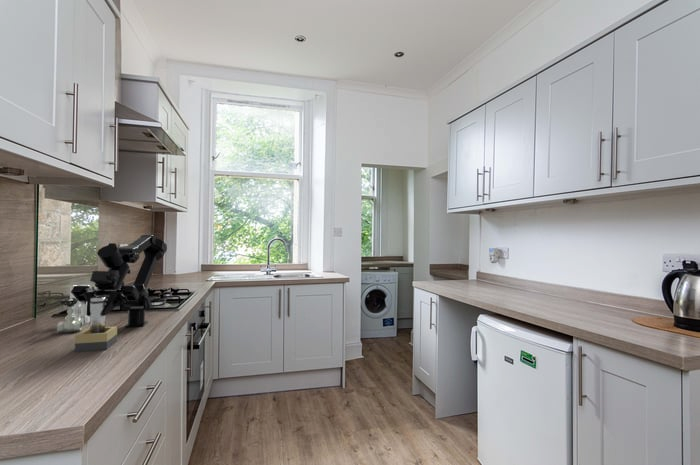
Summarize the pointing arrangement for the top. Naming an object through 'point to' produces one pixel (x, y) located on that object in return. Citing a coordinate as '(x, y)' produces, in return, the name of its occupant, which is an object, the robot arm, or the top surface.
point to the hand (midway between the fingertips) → (95, 315)
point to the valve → (69, 318)
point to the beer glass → (80, 308)
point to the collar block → (95, 339)
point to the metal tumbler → (97, 314)
